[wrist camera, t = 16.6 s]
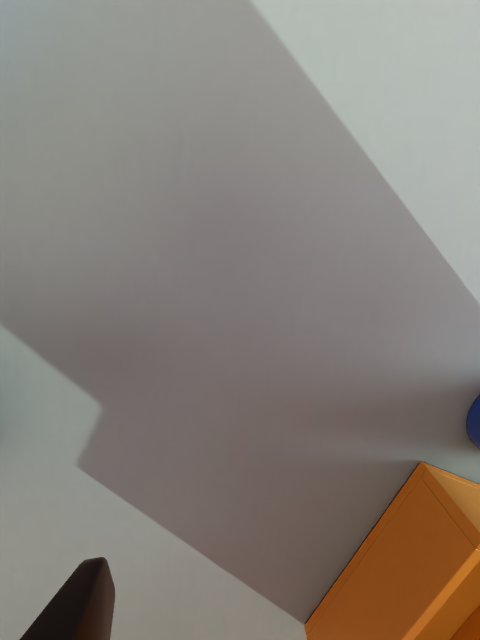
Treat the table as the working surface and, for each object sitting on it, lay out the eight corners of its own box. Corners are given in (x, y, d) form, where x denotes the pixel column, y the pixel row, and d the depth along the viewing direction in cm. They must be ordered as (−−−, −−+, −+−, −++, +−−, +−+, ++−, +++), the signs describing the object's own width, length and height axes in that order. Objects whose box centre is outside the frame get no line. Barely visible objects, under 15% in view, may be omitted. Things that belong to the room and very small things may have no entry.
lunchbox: (303, 625, 27) (327, 731, 22) (420, 460, 24) (484, 538, 18) (428, 658, 30) (477, 760, 24) (552, 512, 26) (643, 595, 21)
